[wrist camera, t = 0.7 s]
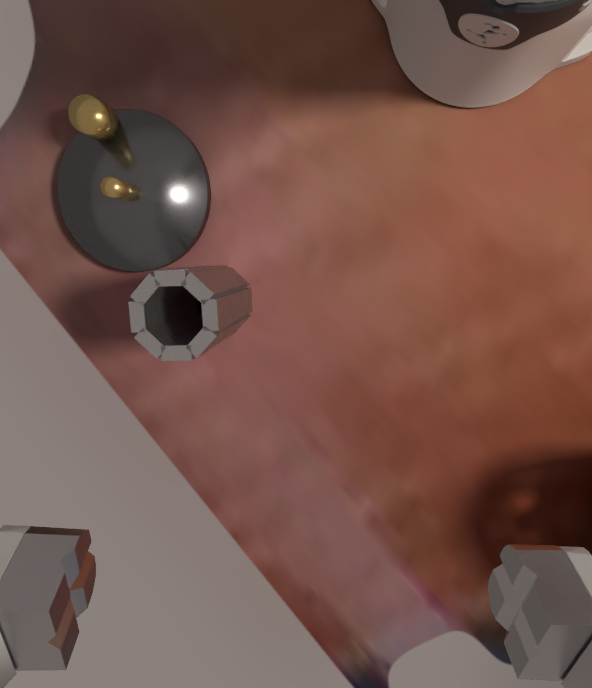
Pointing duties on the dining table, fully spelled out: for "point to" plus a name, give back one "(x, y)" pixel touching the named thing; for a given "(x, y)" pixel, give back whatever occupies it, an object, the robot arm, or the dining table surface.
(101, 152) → the grey pot lid
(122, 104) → the dining table surface
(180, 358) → the octagonal pipe segment
